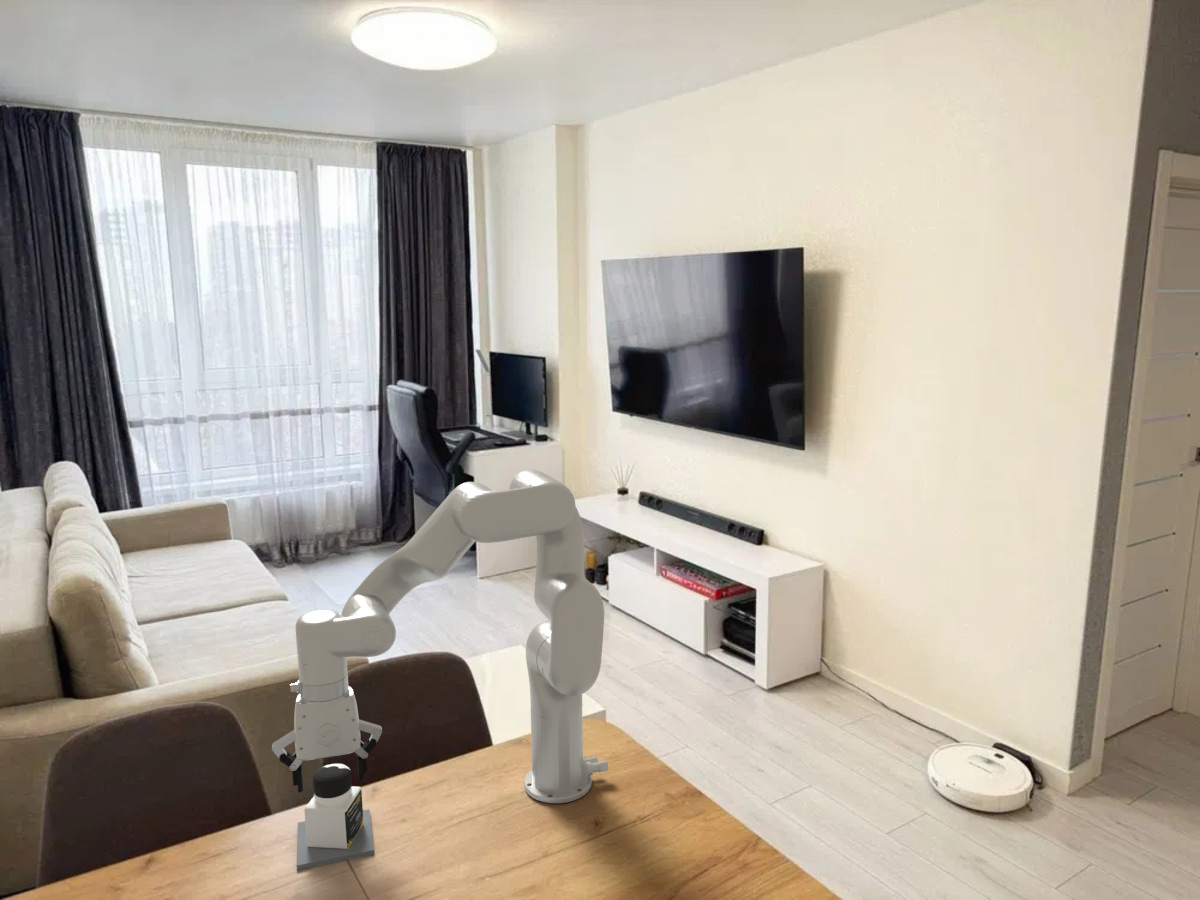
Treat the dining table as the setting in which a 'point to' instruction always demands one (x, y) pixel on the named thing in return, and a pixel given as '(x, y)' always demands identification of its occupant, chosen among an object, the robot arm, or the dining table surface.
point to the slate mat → (322, 856)
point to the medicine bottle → (333, 809)
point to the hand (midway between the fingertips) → (331, 782)
